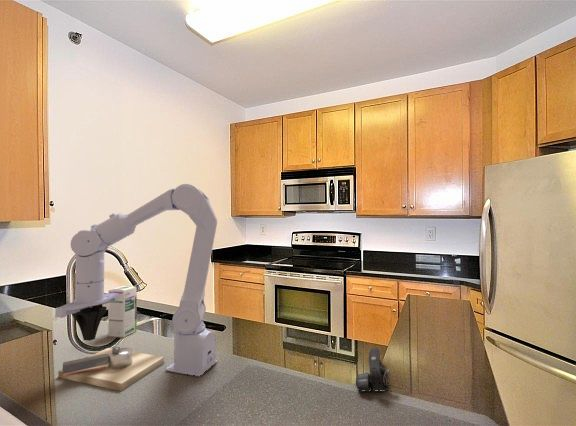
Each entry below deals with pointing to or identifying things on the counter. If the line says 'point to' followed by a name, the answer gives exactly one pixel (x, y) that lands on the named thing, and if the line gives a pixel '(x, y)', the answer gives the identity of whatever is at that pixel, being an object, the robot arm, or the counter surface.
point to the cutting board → (115, 371)
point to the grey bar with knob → (102, 360)
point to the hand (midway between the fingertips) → (89, 339)
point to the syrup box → (123, 312)
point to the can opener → (373, 374)
